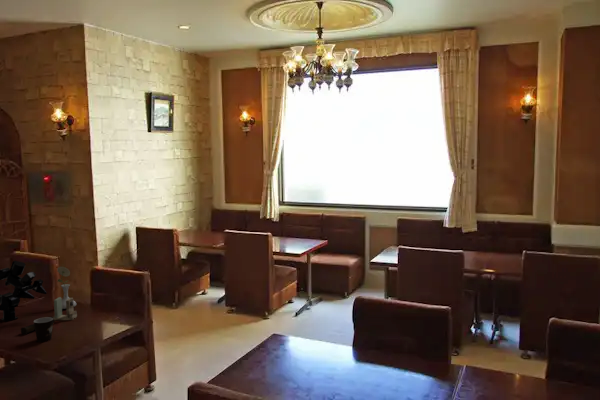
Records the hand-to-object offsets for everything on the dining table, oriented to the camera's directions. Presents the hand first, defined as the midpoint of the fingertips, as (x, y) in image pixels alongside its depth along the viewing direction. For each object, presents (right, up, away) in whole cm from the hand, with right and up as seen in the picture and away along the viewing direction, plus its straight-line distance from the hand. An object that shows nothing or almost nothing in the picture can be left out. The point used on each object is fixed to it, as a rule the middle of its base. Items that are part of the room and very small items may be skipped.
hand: (40, 295), depth 274 cm
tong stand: (+10, -14, +7) cm, 19 cm away
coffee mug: (+16, -17, -24) cm, 34 cm away
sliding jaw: (+6, -13, +7) cm, 16 cm away
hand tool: (+4, -16, -10) cm, 19 cm away
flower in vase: (+1, -13, +28) cm, 30 cm away
